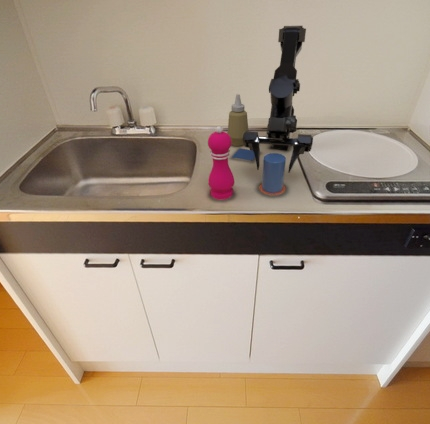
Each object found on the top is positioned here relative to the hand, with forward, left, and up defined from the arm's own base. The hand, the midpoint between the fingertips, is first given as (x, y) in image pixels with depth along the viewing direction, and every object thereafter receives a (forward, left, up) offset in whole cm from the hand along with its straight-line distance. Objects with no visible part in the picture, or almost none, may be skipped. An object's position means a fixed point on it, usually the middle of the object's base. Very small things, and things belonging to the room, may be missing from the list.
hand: (273, 171), depth 77 cm
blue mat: (-19, -15, -7) cm, 26 cm away
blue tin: (-1, 0, -6) cm, 6 cm away
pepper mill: (+7, -13, -7) cm, 16 cm away
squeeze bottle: (-28, -22, -7) cm, 36 cm away
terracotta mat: (-1, 0, -7) cm, 7 cm away
